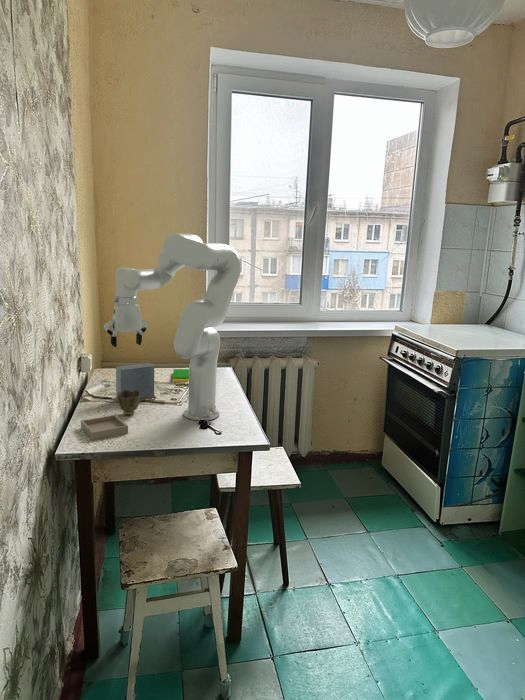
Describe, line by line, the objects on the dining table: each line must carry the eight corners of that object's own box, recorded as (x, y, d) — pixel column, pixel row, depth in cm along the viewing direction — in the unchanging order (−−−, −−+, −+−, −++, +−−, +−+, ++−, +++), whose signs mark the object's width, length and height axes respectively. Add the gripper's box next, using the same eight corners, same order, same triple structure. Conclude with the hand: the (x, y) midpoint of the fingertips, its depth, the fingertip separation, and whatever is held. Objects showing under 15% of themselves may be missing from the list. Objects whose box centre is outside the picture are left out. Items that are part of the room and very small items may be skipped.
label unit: (155, 398, 186) (156, 366, 183) (120, 404, 177) (120, 370, 174) (149, 394, 190) (149, 362, 187) (114, 399, 182) (114, 366, 179)
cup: (143, 411, 172) (143, 390, 170) (135, 419, 164) (135, 396, 163) (122, 410, 172) (122, 388, 170) (114, 417, 165) (114, 394, 163)
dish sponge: (189, 374, 223) (189, 369, 222) (189, 382, 210) (189, 377, 209) (173, 374, 222) (173, 368, 221) (172, 382, 209) (172, 377, 208)
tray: (128, 433, 152) (128, 425, 152) (92, 440, 146) (92, 432, 145) (115, 421, 161) (115, 414, 161) (81, 427, 154) (80, 420, 154)
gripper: (107, 303, 174) (107, 349, 178) (152, 302, 184) (151, 345, 188) (100, 300, 180) (100, 344, 184) (144, 299, 190) (143, 341, 194)
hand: (126, 345), depth 186 cm, fingers open, 9 cm apart
